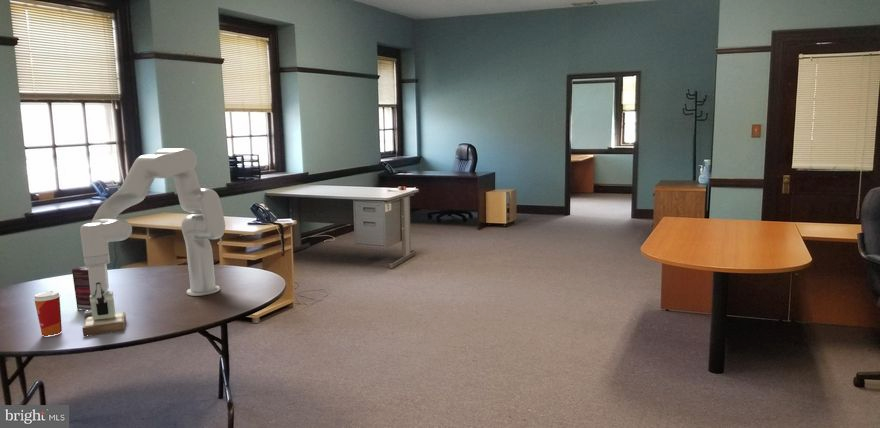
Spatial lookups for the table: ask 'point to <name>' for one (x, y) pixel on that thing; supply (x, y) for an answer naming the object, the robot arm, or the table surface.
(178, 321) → the table surface
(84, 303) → the supplement box
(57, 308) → the paper cup
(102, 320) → the wooden tray
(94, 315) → the carton
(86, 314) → the gray box
